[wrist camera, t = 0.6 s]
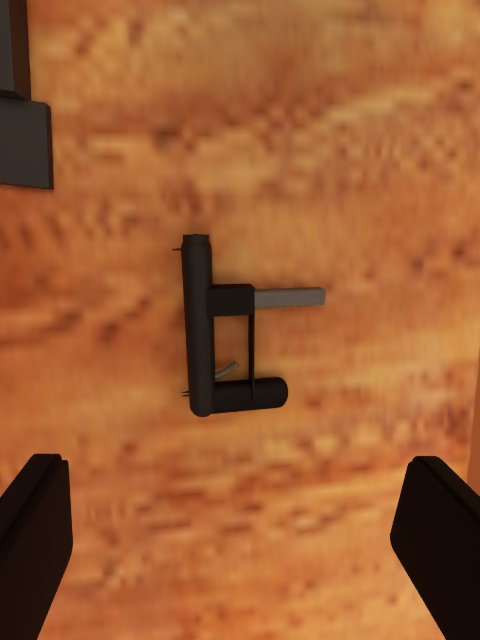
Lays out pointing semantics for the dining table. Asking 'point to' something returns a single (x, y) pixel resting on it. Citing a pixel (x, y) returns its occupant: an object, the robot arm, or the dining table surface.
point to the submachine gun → (199, 324)
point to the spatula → (21, 107)
